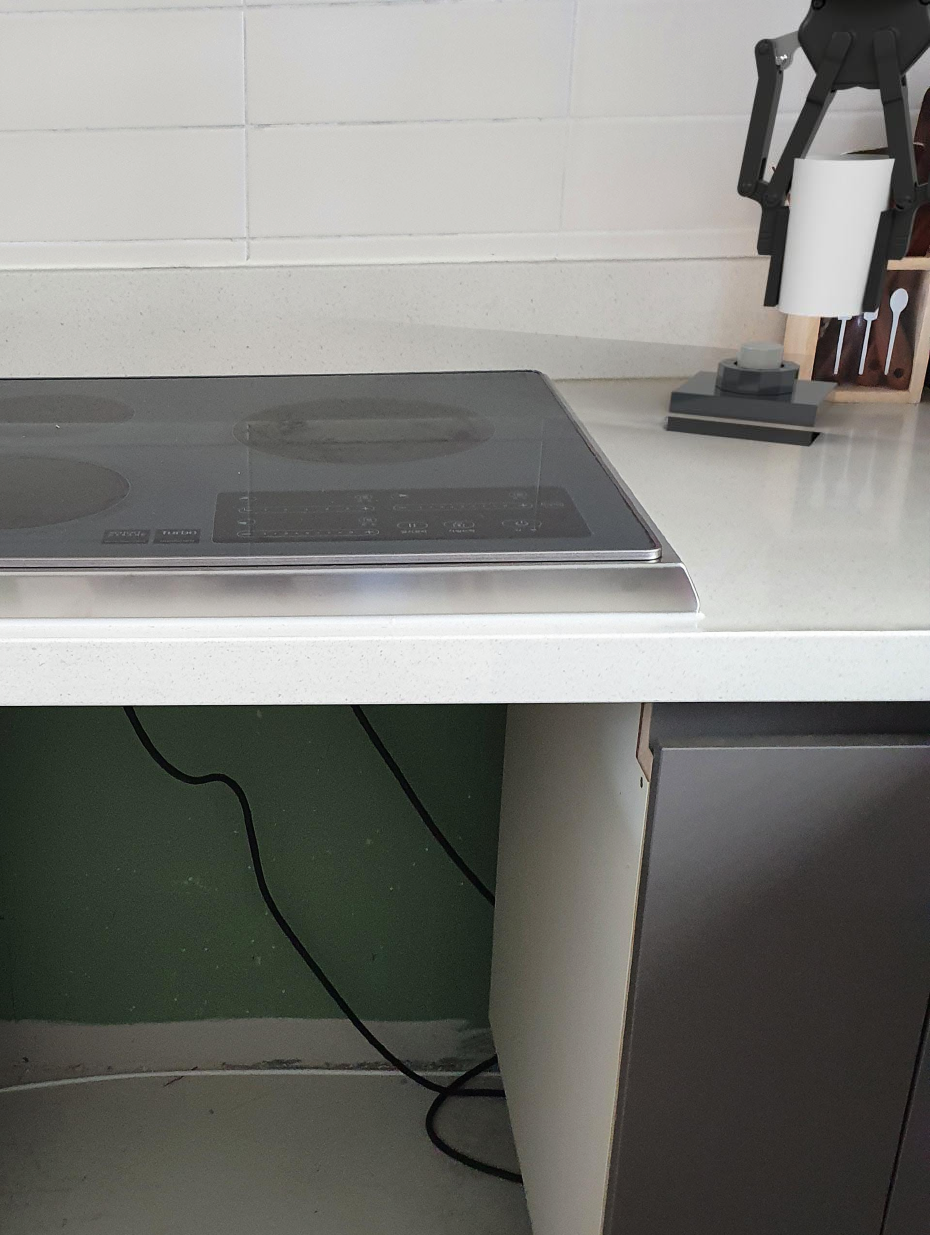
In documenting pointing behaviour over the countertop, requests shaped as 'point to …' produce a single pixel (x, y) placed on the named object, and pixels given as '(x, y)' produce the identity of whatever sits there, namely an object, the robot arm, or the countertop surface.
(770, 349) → the pale grey short cylinder
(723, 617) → the countertop surface
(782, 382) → the push button base
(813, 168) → the white cup
